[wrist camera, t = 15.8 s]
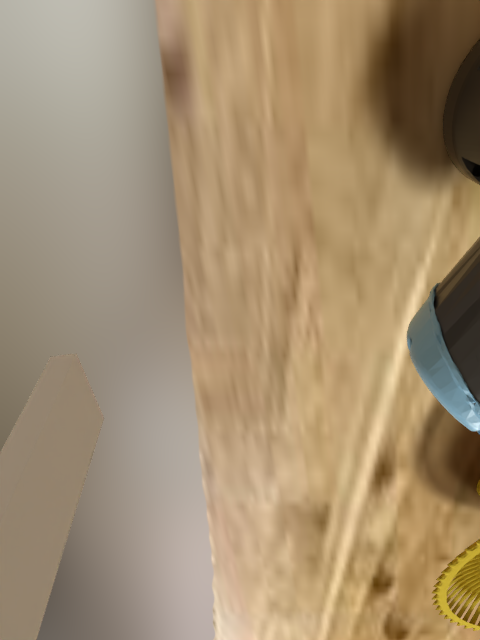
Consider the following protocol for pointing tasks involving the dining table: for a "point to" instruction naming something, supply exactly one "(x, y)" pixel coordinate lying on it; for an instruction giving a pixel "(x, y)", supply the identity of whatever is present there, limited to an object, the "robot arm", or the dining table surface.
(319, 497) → the dining table surface
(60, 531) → the robot arm
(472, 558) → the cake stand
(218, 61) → the dining table surface
